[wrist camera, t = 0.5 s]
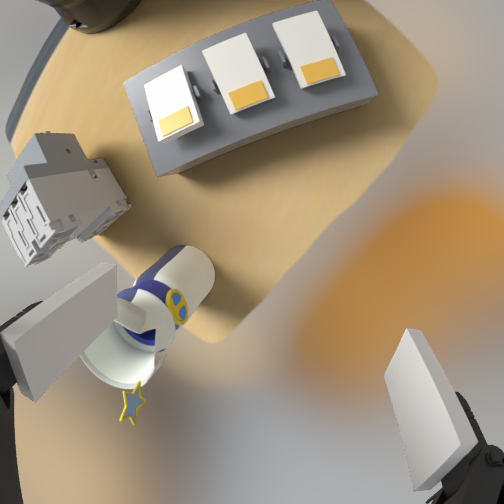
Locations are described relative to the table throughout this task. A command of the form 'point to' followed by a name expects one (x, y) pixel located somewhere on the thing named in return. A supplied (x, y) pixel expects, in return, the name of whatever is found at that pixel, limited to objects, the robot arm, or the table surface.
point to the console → (260, 115)
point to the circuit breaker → (57, 197)
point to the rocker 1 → (173, 105)
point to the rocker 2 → (238, 73)
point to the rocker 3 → (309, 49)
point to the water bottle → (149, 322)
